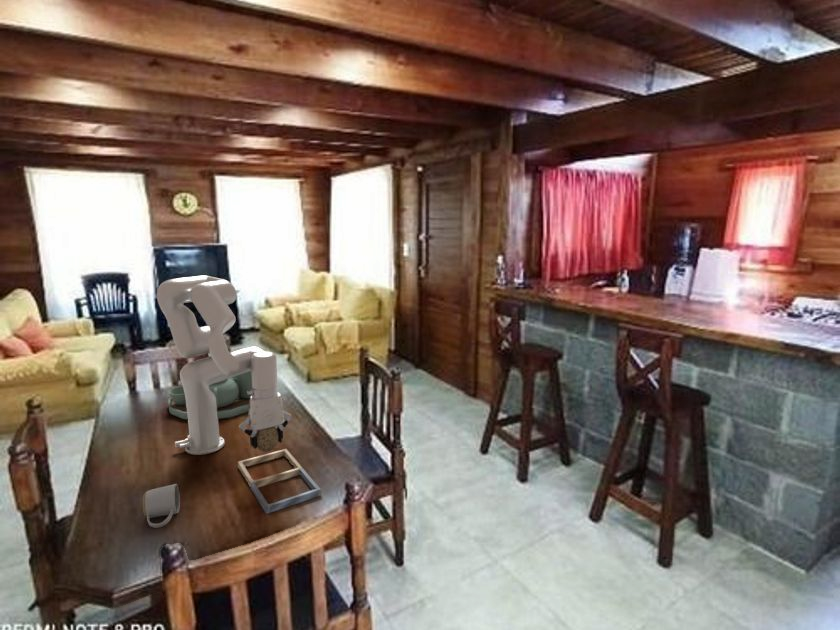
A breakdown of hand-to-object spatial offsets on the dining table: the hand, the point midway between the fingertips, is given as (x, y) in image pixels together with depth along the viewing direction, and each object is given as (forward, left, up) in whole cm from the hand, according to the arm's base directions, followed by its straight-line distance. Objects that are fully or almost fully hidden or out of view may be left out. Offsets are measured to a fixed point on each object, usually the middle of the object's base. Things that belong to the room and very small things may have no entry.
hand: (267, 443), depth 152 cm
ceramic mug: (-31, -8, -10) cm, 34 cm away
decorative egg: (0, 0, -3) cm, 3 cm away
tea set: (-1, +69, -10) cm, 70 cm away
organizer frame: (0, -8, -9) cm, 12 cm away
